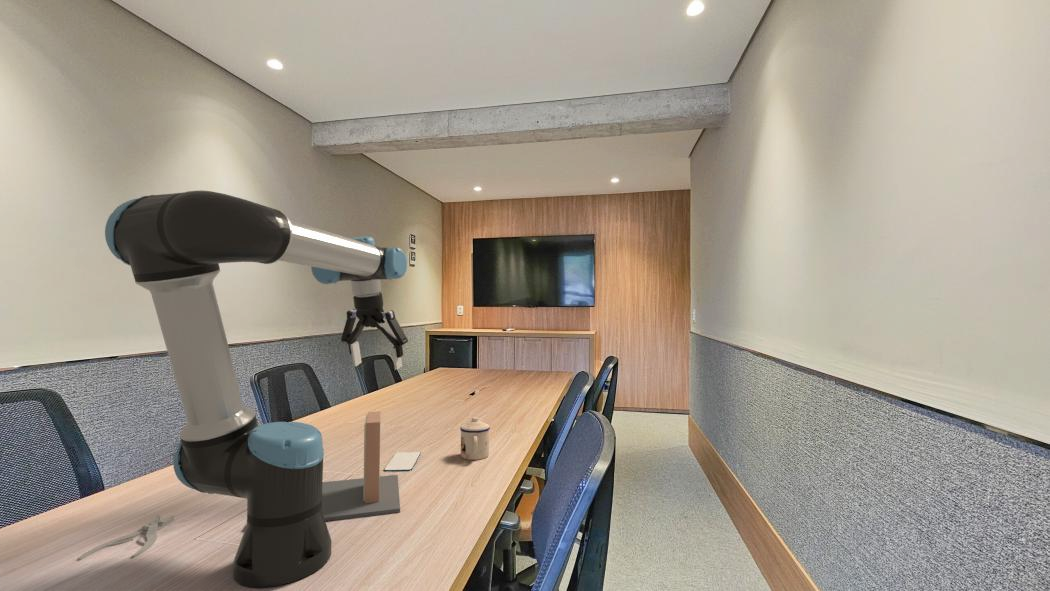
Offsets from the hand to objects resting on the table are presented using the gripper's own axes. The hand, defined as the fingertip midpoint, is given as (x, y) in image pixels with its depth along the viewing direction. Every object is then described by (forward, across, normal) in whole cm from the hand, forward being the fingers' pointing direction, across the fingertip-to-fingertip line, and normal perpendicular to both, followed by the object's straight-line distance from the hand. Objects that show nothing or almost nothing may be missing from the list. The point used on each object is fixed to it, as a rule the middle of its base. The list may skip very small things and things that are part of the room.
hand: (377, 366), depth 128 cm
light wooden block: (+22, -12, +24) cm, 34 cm away
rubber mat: (+21, -4, +29) cm, 36 cm away
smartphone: (+30, -5, +1) cm, 31 cm away
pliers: (+15, +19, +54) cm, 59 cm away
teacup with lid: (+32, -23, -9) cm, 41 cm away
